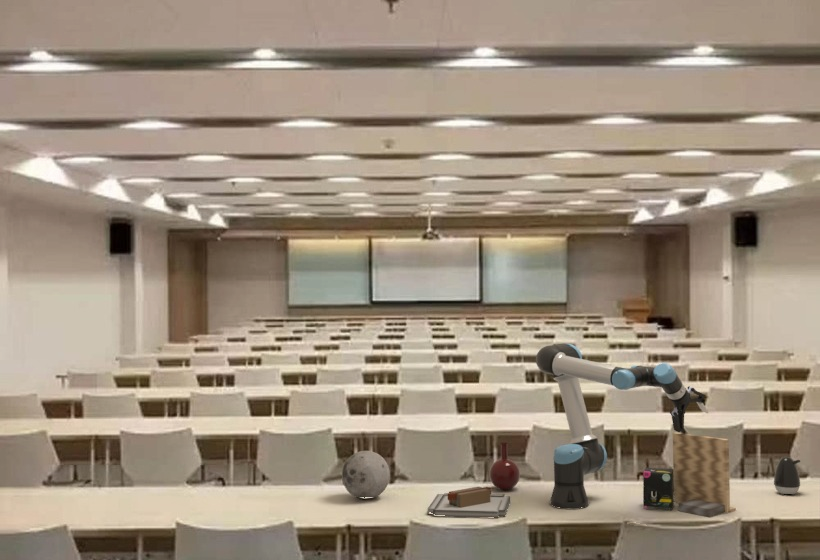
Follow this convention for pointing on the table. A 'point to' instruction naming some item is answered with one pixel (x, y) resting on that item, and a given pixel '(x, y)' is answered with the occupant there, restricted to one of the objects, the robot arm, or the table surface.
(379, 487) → the moon model
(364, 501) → the table surface
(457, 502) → the grey tray with block
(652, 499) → the tampon box
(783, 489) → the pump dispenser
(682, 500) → the board
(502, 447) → the round-bottom flask
